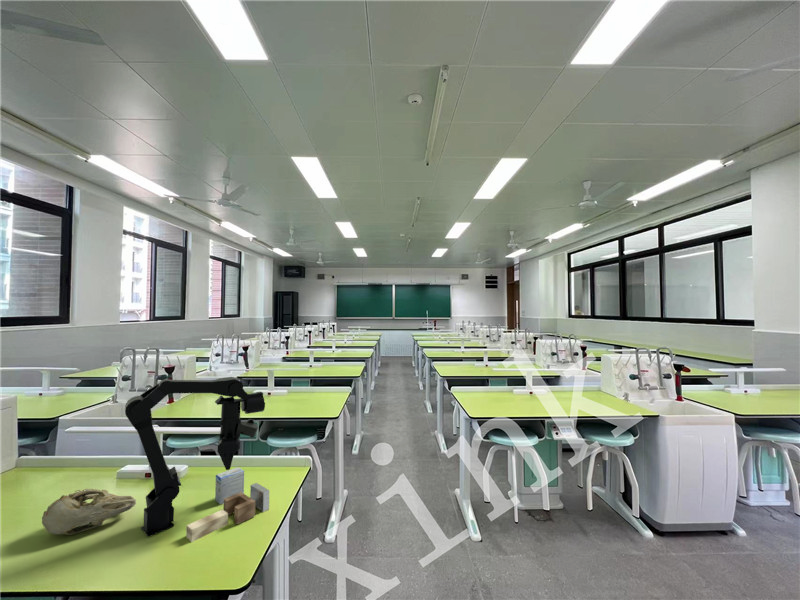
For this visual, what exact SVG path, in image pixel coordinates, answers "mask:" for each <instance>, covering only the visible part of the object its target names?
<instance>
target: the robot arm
mask: <svg viewBox="0 0 800 600" xmlns="http://www.w3.org/2000/svg"><path fill="white" fill-rule="evenodd" d="M169 394H215V395H218V396H219V397H218V398H217V399H216V400H215V401H214V403H215V404H216V405H217V406H219V405H221V411H220V413H221V414H220V425H219V426H220V430H219V431H220V432H219V439H220V440H219V441H218V443H217V454H218V455H219V457H220V459H221V462H222V464H223V466H224V469H225V470H226V471H228V470H231V466H232V463H233V459H234V456H235V454H236V453H237V452H238V451H240V449H241V439H240V437H241V435H242V436H248V437H250V438H255V436H256V434H257V431H258V429H259V426H258V425H257V424H256V423H255V419H254V418H253V419H252V418H248V419H247V420H246V421H245V420H244V421H243V420H242V417H241V412H244V414H248V415H249V414H255V413H262V412H264V411H265V407H266V402H265V398H264V392H262V391H257V392H251V393H248V392H247V391H245V389H244V384H243V381H242V380H240V379H238V378H236V377H234V376H229V377H228V376H227V377H221V378H216V379H211V380H208V379H207V380H202V379H197V380H196V379H170V378H164V379H162V380H161V381H160V382H158V383H157V384H156V385H154V386H152V387H151V388H149V389H147V390H146V391H144V392H143V393H142V394H140V395H136V396H133V397H131V398H129V400H127V401H126V403H125V406H124V414H125V417H126V418H127V419H128V421H129V422H130V424H131V425H132V426H133V428H134V429H135V431H136V432H137V434H138V436H139V440H140V442H141V444H142V447H143V451H144V453H145V456H146V459H147V462H148V464H149V466H150V470H151V472H152V478H153V489H151V490H150V492H149V493H148V494H147V495H145V503H146V504H145V505H146V507H144V509H143V525H141V527H140V529H141V530H142V531H143V533H144V534H145V535H146V536H147V537H148V538H149V537H152V536H155V535H157V534H159V533H162V532H163V531H166V530H169V529H170V528H173V527H174V526H175V524H174V520H175V507H174V506H173V501H174V500H175V499H176V498H177V497H178V495H179V493H180V492H181V491H180V486H182V482H181V479H180V477H179V475H178V472H177V469H176V466H173V467H171V468H170V467H169V466H168V465H167V462H166V460H165V457H164V454H163V451H162V449H161V446H160V442H159V440H158V437H157V434H156V432H155V429H154V426H153V417H152V416H153V415H152V409H153V408H154V407H155V406H156V405H158V404H159V403H160V402H161V401H162V400H164V399H165V397H167V396H168V395H169ZM224 396H225V397H224ZM235 397H238V398H235Z"/></svg>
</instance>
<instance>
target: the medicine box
mask: <svg viewBox="0 0 800 600" xmlns="http://www.w3.org/2000/svg"><path fill="white" fill-rule="evenodd" d="M214 491H215V495H214V496H215V498H214V499H215V502H217V503H218V504H219V505H224V499H225V498H228V497H230V496H232V495H235V494H237V493H240V492H242V493H243V494H245V470H243V469H242V468H240V467H235V468H230V470H226V471H223V472H220V473H217V474H216V475H215V490H214Z"/></svg>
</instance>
